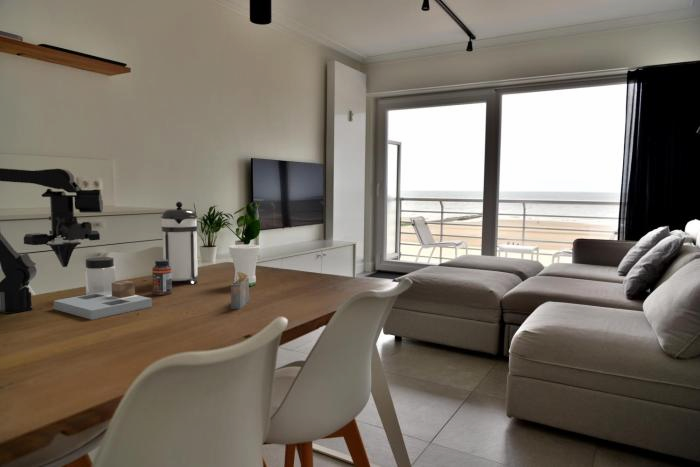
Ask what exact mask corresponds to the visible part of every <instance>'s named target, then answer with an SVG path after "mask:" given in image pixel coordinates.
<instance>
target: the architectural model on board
mask: <svg viewBox="0 0 700 467" xmlns="http://www.w3.org/2000/svg"><path fill="white" fill-rule="evenodd" d="M237 273H238V272H237ZM238 276H239V279H238V280H237V281H235V280H234V282H232V284H230V310H241V309H242V308H243V307H244V306H245V305H246V304H247V303H248V302H249V300H250V294H249V293H250V289H249V288H250V286H249V278H247V277H248V276H247V275H246V274H243V273H241V272H239V273H238Z"/></svg>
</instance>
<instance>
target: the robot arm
mask: <svg viewBox="0 0 700 467" xmlns="http://www.w3.org/2000/svg"><path fill="white" fill-rule="evenodd" d="M0 182H6V183H7V182H9V183H22V184H25V183H26V184H34V185H39V186H42V187H47V188H46V191H45V192H44V193H42V194H41V197H42V198H49V199H50V200H49V203H50V205H49V206H50V215H49V216H48V221H50V223H51V224H50V228H51V230H49V231H48V232H49V234H48V233H41V232H36V233H35V232H34V233H26V234H25V235H24V237H23V244H24V245H28V246H29V245H30V246H40V245H41V246H42V245H43V246H44V245H46V246H49V247H50V248H51V249H52V251H53V253H54V254H55V255H56V257H57V259H58V261H59V262H60V265H61V267H62V268H68V265H69V262H70V259H71V257H72V254H73V252H74V250H75V248H76V247H77V246H78V245H81V243H82V242H79V240H89V241H100V240H101V234H100V232H99V231H98V230H95V229H94V230H93V229H92V223H91V222H89V221H83V222H81V223H79V222H78V218H77V216H75V213H74V212H75V211H74V210H78V211H79V214H81V213H82V214H83V213H85V214H86V213H87V214H89V213H90V214H94V213H96V214H97V213H99V214H101V213H102V212H103V209H104V201H103V197H102V193H101V192H102V190H101V189H97V188H96V189H82V188H81V187H80V186H79V185H78V184H77V183H76V182H75V176H74V174H73V173H72V172H71V171H70V170H68V169H65V168H50V169H38V170H29V169H16V168H15V169H14V168H4V167H3V168H2V167H0ZM53 189H55V191H54V190H53ZM59 190H60V191H59ZM61 190H62V191H61ZM66 193H69V194H66ZM70 193H71V194H70ZM73 193H74V194H73ZM36 265H37V263H35V262H34V261H33V260H32V258H31V257H30V255H29V254H28V252H27V253H26V252H25V253H23V254H20V253H19V252H17V251H16V250H15V249H14V248H13V247H12V245H11V244H10V243H9V241H8V240H7V239H6V238H5V237H4V235H3V234H2V233H1V232H0V268H1V271H2V273H3V275H4V278H3V279H2V280H1V281H0V312H1V313H4V314H7V315H8V314H14V313H20V312H25V311H26V312H27V311H31V310H33V309H34V308H33V307H32V293H31V292H30V287H29V284H30V282H31V281H32V280H33V279H34V278H36V275H37V272H38V271H37V268H36Z"/></svg>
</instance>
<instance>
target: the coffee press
mask: <svg viewBox="0 0 700 467" xmlns="http://www.w3.org/2000/svg"><path fill="white" fill-rule="evenodd" d="M175 206H176V208H169V209H165V210H164V211H163V212H162V214H161V216H160V218H161V219H160V220H161V232H162V233H161V234H162V236H161V237H162V259H166V260H168V265H169V266H170V267H171V272H172V282H181V281H184V282H185V281H187V282H190V283H191V284H192V285H196V284H198V281H197V278H198V225H197V222H198V220H197V219H198V215H197V213H196V211H195V210H193V209H191V208H182V207H183V203H182V202H181V201H177V202H176V204H175Z"/></svg>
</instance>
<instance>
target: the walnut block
mask: <svg viewBox="0 0 700 467" xmlns="http://www.w3.org/2000/svg"><path fill="white" fill-rule="evenodd" d="M135 286H136V284H135V281H130V280H122V281H120V280H119V281H115V282H114V283H112V296H114V297H119V298H123V297H129V296H134V295H136V287H135Z"/></svg>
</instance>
